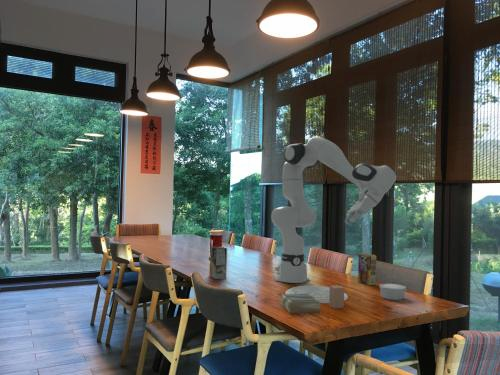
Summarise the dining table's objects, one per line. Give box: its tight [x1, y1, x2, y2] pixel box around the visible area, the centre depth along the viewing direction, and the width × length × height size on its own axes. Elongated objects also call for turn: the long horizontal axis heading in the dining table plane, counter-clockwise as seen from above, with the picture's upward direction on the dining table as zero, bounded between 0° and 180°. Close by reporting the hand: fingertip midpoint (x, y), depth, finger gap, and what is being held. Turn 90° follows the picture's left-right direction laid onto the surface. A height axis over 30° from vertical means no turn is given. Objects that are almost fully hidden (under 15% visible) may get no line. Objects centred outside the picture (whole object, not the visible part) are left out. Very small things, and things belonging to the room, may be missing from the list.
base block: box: [280, 293, 321, 314], centre depth 159 cm, size 12×12×4 cm
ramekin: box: [379, 283, 407, 301], centre depth 179 cm, size 11×11×5 cm
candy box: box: [357, 252, 377, 286], centre depth 207 cm, size 9×4×15 cm, turn 29°
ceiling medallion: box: [284, 284, 349, 304], centre depth 180 cm, size 28×28×3 cm
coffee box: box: [209, 245, 228, 280], centre depth 213 cm, size 9×6×16 cm
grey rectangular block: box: [328, 285, 345, 309], centre depth 162 cm, size 4×4×8 cm
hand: (348, 221), depth 170 cm, fingers open, 8 cm apart
